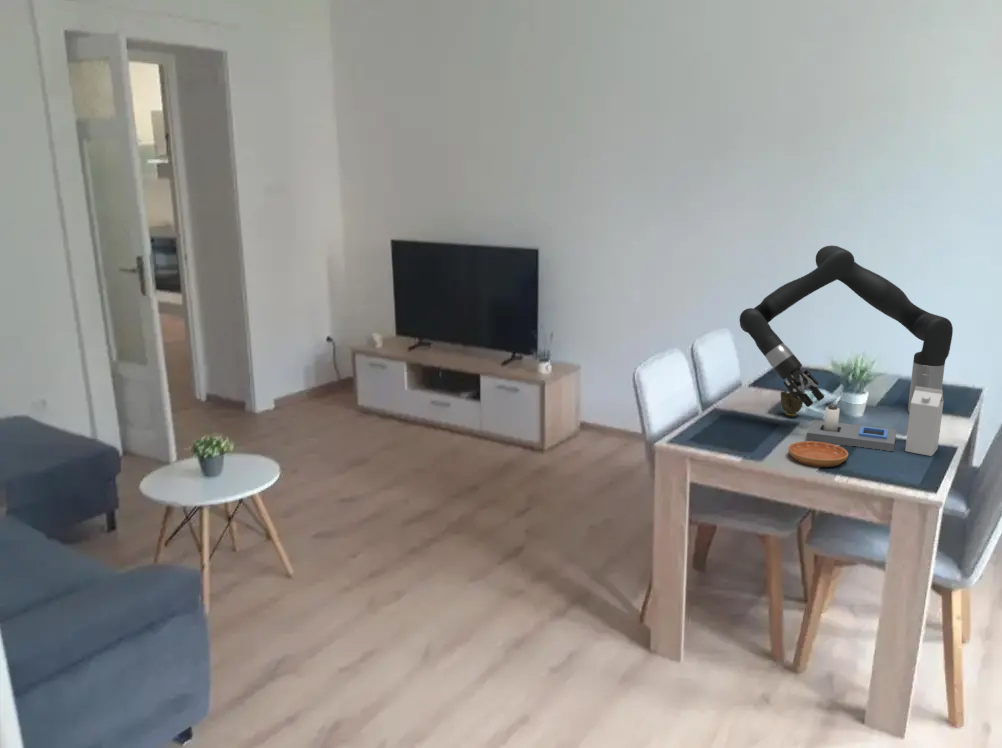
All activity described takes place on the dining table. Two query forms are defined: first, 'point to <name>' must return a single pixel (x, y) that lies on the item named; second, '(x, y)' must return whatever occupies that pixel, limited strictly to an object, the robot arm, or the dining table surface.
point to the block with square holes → (853, 436)
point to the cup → (790, 404)
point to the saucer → (818, 453)
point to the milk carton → (924, 421)
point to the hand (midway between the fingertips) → (816, 402)
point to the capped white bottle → (831, 418)
